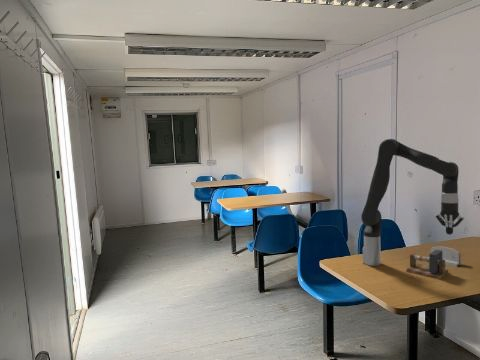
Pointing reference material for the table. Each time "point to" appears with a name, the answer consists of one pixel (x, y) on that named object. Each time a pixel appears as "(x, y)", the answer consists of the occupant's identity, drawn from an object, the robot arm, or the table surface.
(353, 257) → the table surface
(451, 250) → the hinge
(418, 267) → the pipe stand
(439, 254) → the collar
